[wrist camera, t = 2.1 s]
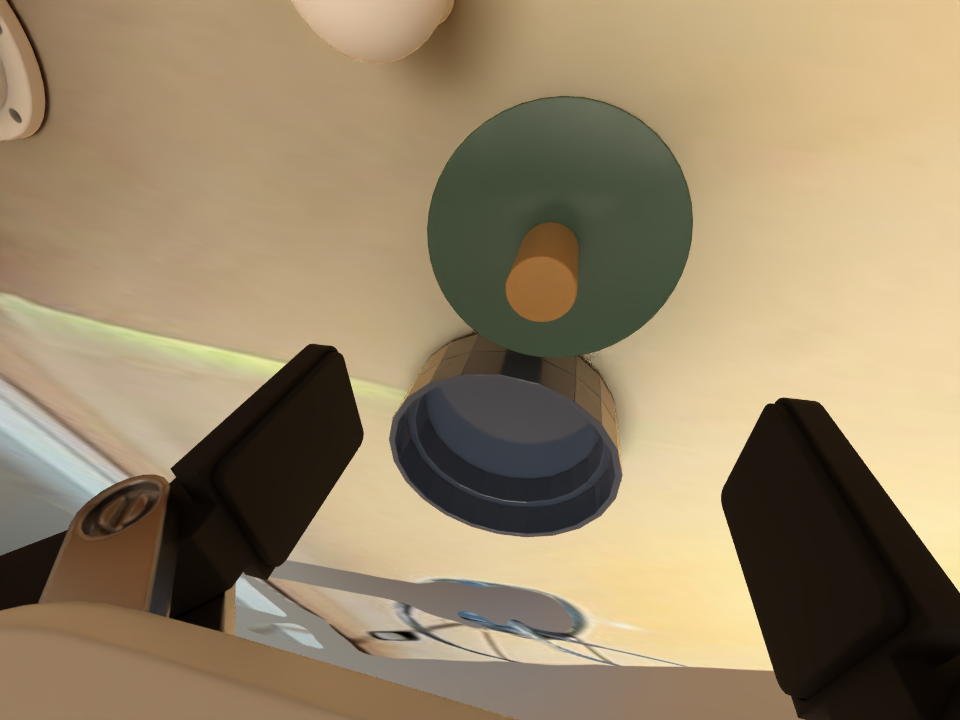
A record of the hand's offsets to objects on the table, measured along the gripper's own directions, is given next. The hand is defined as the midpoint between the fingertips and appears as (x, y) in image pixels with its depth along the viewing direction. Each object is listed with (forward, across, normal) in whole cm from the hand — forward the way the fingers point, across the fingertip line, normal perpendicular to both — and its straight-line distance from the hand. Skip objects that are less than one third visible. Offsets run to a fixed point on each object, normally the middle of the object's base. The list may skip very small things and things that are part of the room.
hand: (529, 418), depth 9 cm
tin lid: (+14, +1, +1) cm, 14 cm away
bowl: (+19, +3, +18) cm, 26 cm away
